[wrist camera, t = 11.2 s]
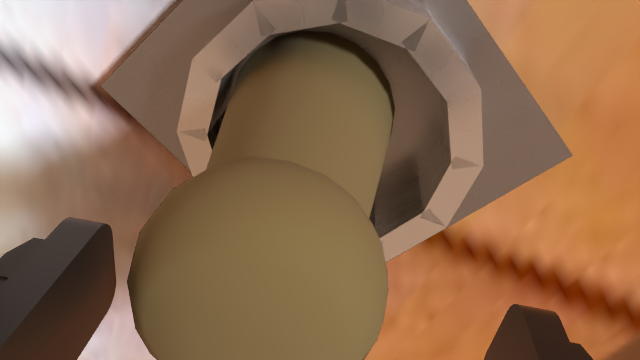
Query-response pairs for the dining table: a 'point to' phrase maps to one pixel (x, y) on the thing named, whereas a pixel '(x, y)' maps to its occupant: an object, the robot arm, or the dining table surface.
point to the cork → (276, 217)
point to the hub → (406, 85)
